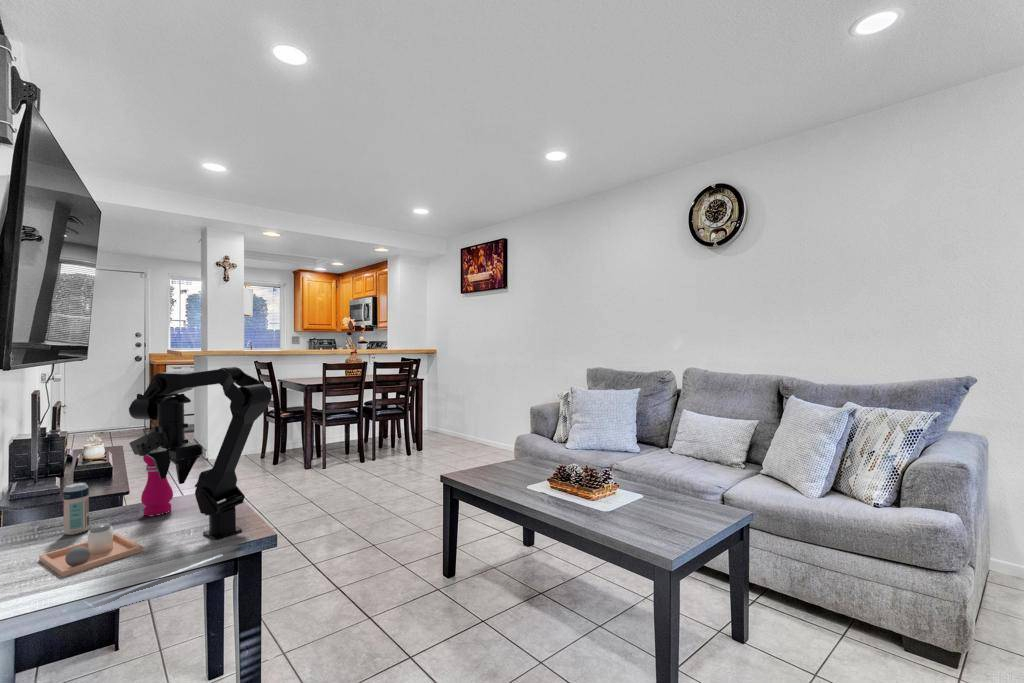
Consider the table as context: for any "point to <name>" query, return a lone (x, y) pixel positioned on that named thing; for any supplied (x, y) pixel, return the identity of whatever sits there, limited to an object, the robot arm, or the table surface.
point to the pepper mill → (155, 491)
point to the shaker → (100, 538)
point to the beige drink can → (76, 508)
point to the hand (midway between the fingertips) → (172, 481)
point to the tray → (120, 550)
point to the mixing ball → (77, 556)
